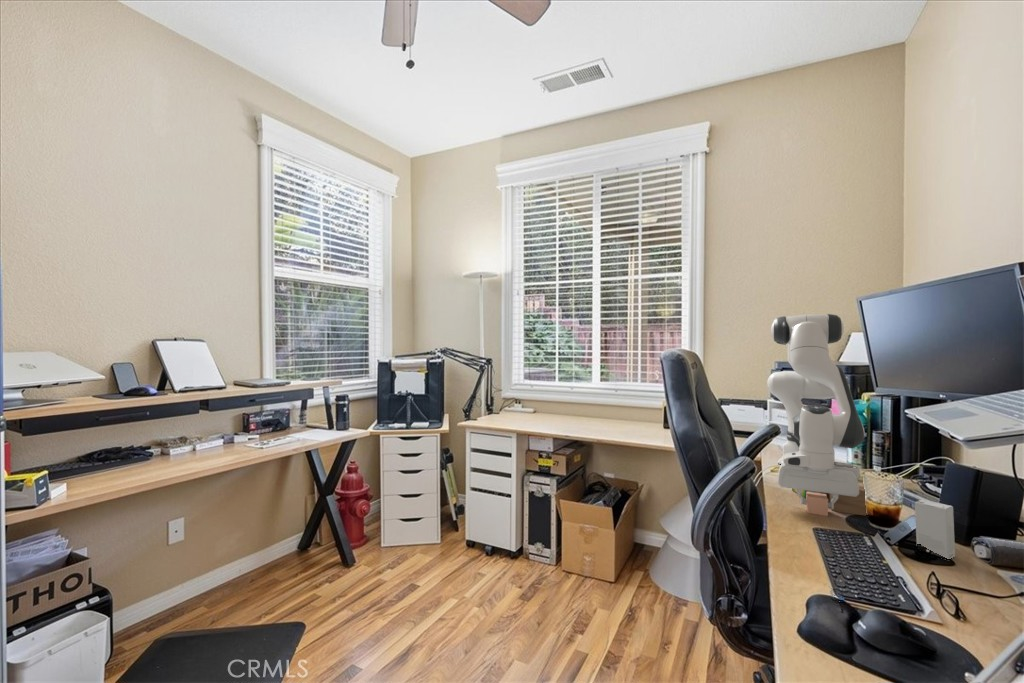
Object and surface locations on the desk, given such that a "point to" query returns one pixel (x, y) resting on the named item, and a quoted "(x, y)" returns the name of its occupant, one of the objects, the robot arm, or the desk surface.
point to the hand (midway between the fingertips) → (816, 506)
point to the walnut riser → (851, 503)
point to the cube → (817, 503)
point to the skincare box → (935, 527)
